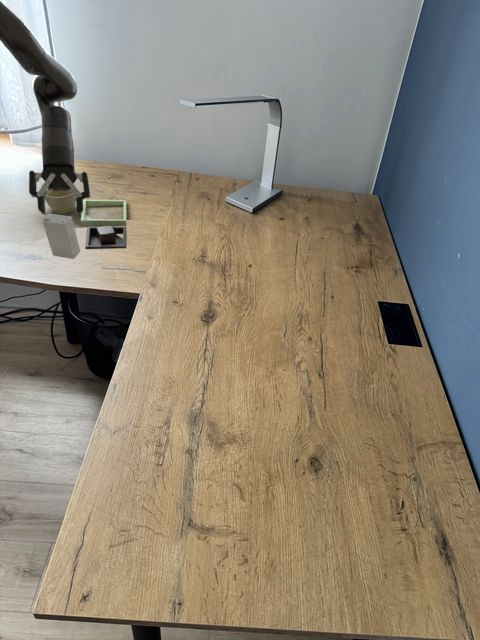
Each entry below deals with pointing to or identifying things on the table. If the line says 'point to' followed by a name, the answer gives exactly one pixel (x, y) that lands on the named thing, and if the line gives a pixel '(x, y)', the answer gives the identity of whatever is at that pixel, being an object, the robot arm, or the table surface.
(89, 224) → the light tray
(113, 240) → the dark block
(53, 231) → the cosmetic box
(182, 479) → the table surface
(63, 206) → the bowl
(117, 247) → the dark tray
